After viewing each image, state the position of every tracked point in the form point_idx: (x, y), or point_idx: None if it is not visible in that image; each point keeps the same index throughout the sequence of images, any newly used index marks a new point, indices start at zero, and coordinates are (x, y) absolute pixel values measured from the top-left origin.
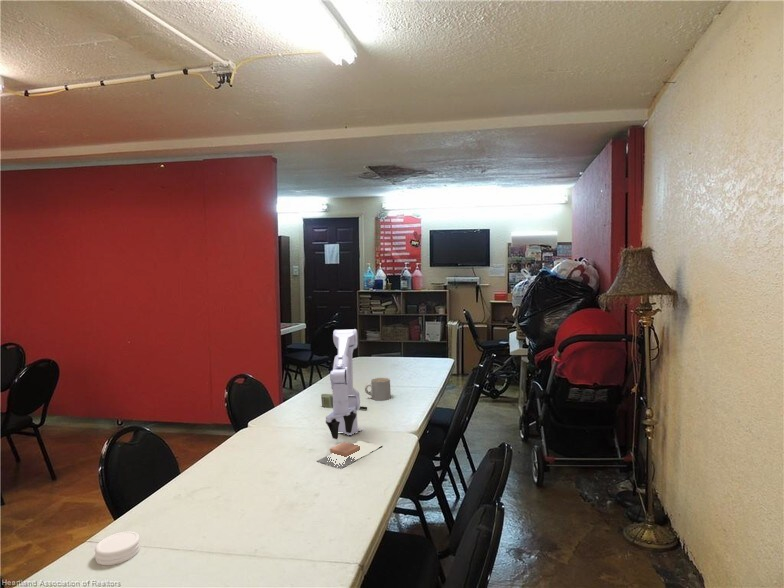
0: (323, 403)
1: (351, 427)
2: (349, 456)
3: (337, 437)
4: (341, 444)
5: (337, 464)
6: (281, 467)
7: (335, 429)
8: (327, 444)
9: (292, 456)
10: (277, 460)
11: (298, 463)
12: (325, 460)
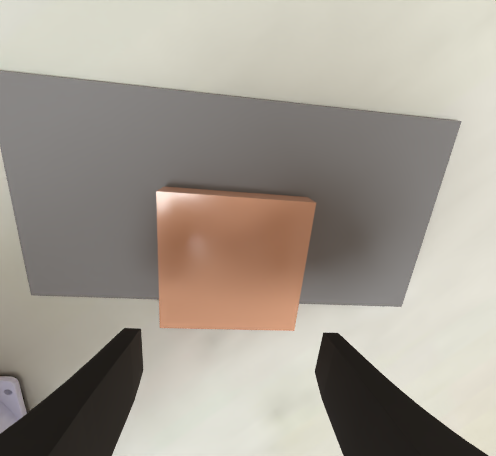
0: None
1: (97, 366)
2: (284, 186)
3: (335, 339)
4: (204, 316)
5: (415, 178)
6: (488, 382)
7: (453, 434)
8: (189, 393)
9: None
10: None
11: (436, 356)
12: (384, 273)
